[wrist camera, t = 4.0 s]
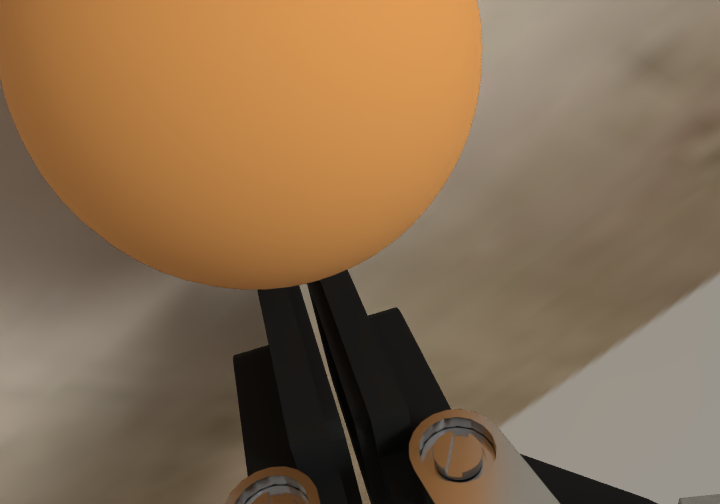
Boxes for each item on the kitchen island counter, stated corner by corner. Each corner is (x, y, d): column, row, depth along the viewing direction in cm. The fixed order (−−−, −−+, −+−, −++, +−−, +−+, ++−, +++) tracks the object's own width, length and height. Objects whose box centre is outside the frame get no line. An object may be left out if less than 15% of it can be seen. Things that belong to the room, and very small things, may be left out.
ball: (379, -219, 8) (620, -317, 4) (409, 139, 11) (560, 311, 7) (-31, -162, 8) (-317, -200, 3) (122, 206, 11) (90, 449, 6)
